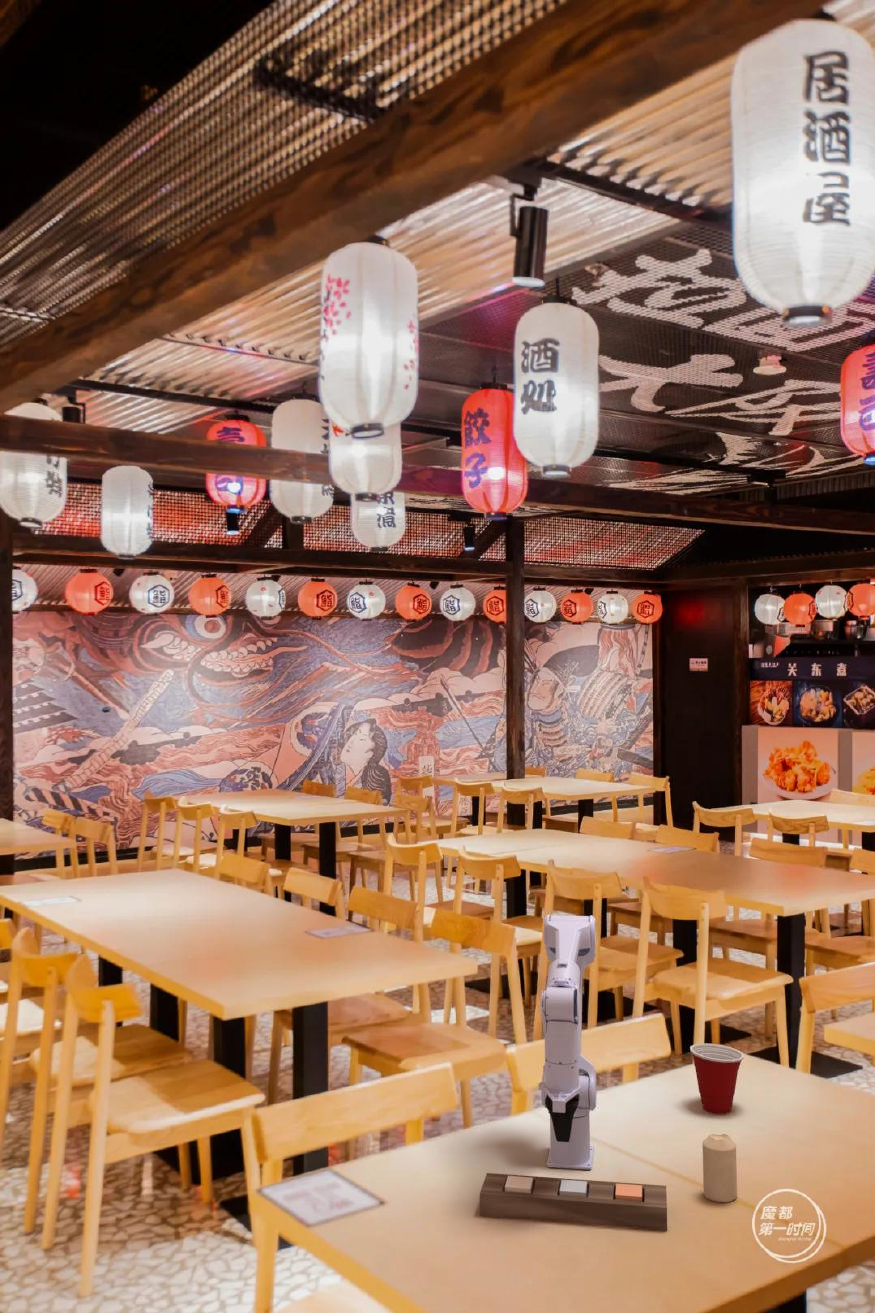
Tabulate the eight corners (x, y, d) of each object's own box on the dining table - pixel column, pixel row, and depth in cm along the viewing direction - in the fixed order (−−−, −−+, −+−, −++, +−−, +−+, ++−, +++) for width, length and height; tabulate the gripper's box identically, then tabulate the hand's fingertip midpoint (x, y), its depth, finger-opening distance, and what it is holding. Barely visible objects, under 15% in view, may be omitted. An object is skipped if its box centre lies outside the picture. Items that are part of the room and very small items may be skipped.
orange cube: (616, 1205, 179) (616, 1183, 179) (642, 1207, 178) (642, 1185, 179) (615, 1217, 175) (615, 1195, 175) (642, 1219, 174) (641, 1197, 174)
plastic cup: (751, 1119, 217) (750, 1058, 217) (697, 1119, 217) (696, 1058, 218) (737, 1099, 228) (736, 1041, 228) (685, 1099, 228) (684, 1041, 228)
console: (487, 1194, 185) (486, 1173, 185) (666, 1207, 179) (666, 1186, 180) (479, 1215, 177) (479, 1193, 178) (667, 1230, 172) (666, 1208, 172)
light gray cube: (562, 1201, 181) (561, 1179, 181) (587, 1203, 180) (587, 1181, 180) (559, 1212, 177) (559, 1191, 177) (585, 1215, 176) (585, 1192, 176)
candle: (731, 1187, 186) (730, 1128, 187) (741, 1202, 181) (740, 1141, 181) (699, 1188, 186) (698, 1129, 187) (708, 1203, 181) (707, 1142, 181)
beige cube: (508, 1197, 183) (508, 1176, 183) (533, 1199, 182) (532, 1177, 182) (505, 1208, 179) (504, 1187, 179) (530, 1210, 178) (530, 1188, 178)
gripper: (542, 1044, 193) (543, 1122, 192) (533, 1072, 178) (535, 1156, 178) (582, 1046, 191) (583, 1125, 191) (576, 1074, 177) (578, 1159, 176)
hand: (563, 1140), depth 184 cm, fingers closed
